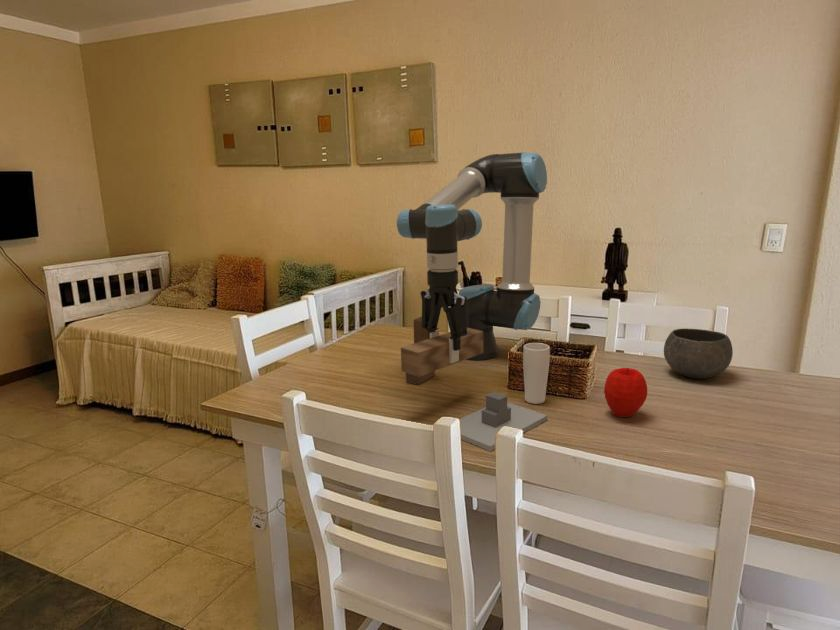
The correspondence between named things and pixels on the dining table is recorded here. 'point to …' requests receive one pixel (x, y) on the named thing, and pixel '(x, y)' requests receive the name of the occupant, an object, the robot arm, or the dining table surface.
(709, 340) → the bowl
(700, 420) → the dining table surface
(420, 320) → the wooden block
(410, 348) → the beam
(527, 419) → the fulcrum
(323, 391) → the dining table surface
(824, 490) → the dining table surface
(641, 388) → the apple
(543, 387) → the drinking glass
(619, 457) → the dining table surface
